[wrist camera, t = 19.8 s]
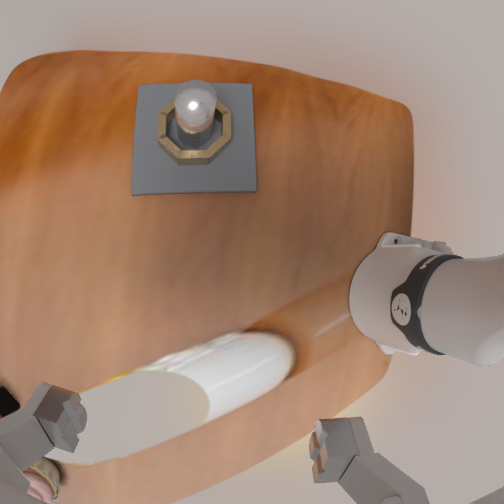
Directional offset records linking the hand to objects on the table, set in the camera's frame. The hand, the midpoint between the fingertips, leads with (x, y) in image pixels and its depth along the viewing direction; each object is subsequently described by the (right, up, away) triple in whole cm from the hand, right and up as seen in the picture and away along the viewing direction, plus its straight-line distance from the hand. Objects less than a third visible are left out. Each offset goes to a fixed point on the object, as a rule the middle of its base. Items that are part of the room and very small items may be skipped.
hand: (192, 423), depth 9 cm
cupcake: (-33, -31, +25) cm, 52 cm away
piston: (-6, +21, +30) cm, 37 cm away
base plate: (-6, +21, +31) cm, 38 cm away
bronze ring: (-6, +21, +31) cm, 38 cm away
